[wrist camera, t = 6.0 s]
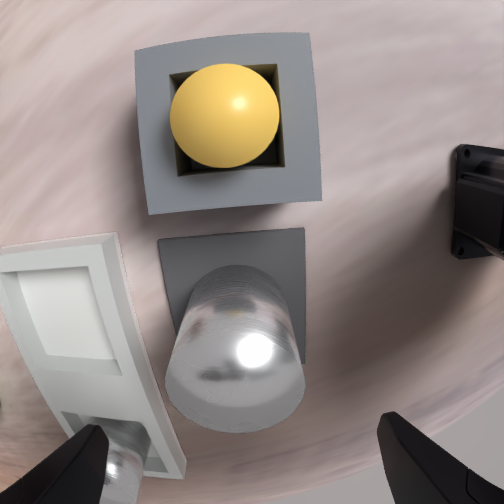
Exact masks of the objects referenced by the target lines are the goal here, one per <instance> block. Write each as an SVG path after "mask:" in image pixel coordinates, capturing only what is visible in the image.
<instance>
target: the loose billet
mask: <svg viewBox="0 0 504 504" xmlns="http://www.w3.org/2000/svg"><path fill="white" fill-rule="evenodd" d="M165 388H166V392H167V395H168V397H169V399H170V401H171V402H172V404H173V405H174V406H175V408H176V409H177V410H178V411H179V412H180V413H181V414H182V415H184V416H185V417H186V418H188V419H189V420H191V421H192V422H194V423H196V424H198V425H200V426H203V427H205V428H208V429H211V430H215V431H220V432H227V433H248V432H254V431H259V430H263V429H266V428H269V427H272V426H274V425H276V424H278V423H280V422H281V421H283V420H285V419H286V418H287V417H288V416H290V415H291V414H292V413H293V412H294V411H295V410H296V408H297V407H298V406H299V404H300V403H301V401H302V399H303V396H304V393H305V378H304V373H303V369H302V365H301V361H300V356H299V352H298V348H297V344H296V340H295V336H294V332H293V327H292V323H291V319H290V315H289V311H288V307H287V303H286V299H285V295H284V293H283V291H282V289H281V287H280V286H279V284H278V283H277V282H276V281H275V280H274V279H273V278H272V277H271V276H270V275H268V274H267V273H266V272H264V271H262V270H260V269H257V268H255V267H251V266H247V265H227V266H223V267H219V268H217V269H215V270H213V271H211V272H209V273H207V274H206V275H205V276H203V277H202V278H201V279H200V280H199V282H198V283H197V284H196V286H195V287H194V289H193V291H192V294H191V297H190V300H189V303H188V306H187V309H186V312H185V315H184V318H183V321H182V324H181V327H180V330H179V333H178V336H177V339H176V342H175V345H174V349H173V352H172V355H171V358H170V361H169V364H168V368H167V371H166V375H165Z"/></svg>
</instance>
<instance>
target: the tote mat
mask: <svg viewBox="0 0 504 504" xmlns="http://www.w3.org/2000/svg"><path fill="white" fill-rule="evenodd" d="M158 245H159V251H160V257H161V262H162V268H163V273H164V279H165V284H166V289H167V294H168V299H169V304H170V308H171V313H172V318H173V322H174V327H175V331H176V335H177V336H178V333H179V330H180V327H181V324H182V321H183V318H184V315H185V312H186V309H187V306H188V303H189V300H190V297H191V294H192V291H193V289H194V287H195V286H196V284H197V283H198V282H199V280H200V279H201V278H202V277H203V276H205V275H206V274H207V273H209V272H211V271H213V270H215V269H217V268H219V267H223V266H227V265H247V266H251V267H255V268H257V269H260V270H262V271H264V272H266V273H267V274H268V275H270V276H271V277H272V278H273V279H274V280H275V281H276V282H277V283H278V284H279V286H280V287H281V289H282V291H283V293H284V295H285V299H286V303H287V307H288V311H289V315H290V319H291V323H292V327H293V332H294V336H295V340H296V344H297V348H298V352H299V356H300V361H301V364H305V336H306V270H305V229H304V227H303V228H289V229H275V230H262V231H249V232H236V233H224V234H212V235H200V236H188V237H177V238H166V239H159V240H158Z"/></svg>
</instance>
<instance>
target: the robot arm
mask: <svg viewBox="0 0 504 504" xmlns="http://www.w3.org/2000/svg"><path fill="white" fill-rule="evenodd" d="M465 150H466V156H464V151H465ZM456 153H457V170H456V199H455V215H454V227H453V237H452V245H451V254H452V256H453V257H455V258H456V259H459V260H460V259H468V258H476V257H484V256H491V255H495V256H497V257H499V258H500V259H502V260H504V150H503V149H497V148H490V147H483V146H476V145H468V144H460V145H459V146H458V148H457V152H456ZM459 248H460V251H459V252H458V249H459ZM377 437H378V441H379V446H380V450H381V455H382V460H383V465H384V470H385V474H386V477H387V480H388V483H389V486H390V489H391V492H392V495H393V498H394V501H395V504H504V490H502V489H501V488H499V487H497V486H495V485H493V484H492V483H490V482H488V481H487V480H485V479H484V478H482V477H481V476H479V475H478V474H476V473H475V472H474V471H472V470H471V469H468V467H466V466H465V465H464V464H463V463H461V462H460V461H459V460H457V459H456V458H455V457H453V456H452V455H451V454H449V453H448V452H447V451H445V450H444V449H443V448H441V447H440V446H439V445H437V444H436V443H435V442H434V441H432V440H431V439H430V438H428V437H427V436H426V435H424V434H423V433H422V432H421V431H419V430H418V429H417V428H415V427H414V426H413V425H412V424H410V423H409V422H408V421H407V420H405V419H404V418H403V417H401V416H400V415H399V414H398V413H396V412H394V411H392V412H388V413H384V414H382V416H381V418H380V422H379V425H378V428H377ZM108 451H109V439H108V437H107V436H106V434H105V432H104V431H103V429H102V427H101V426H100V425H98V424H92V423H89V424H87V425H86V426H84V427H83V428H82V429H81V430H79V431H78V432H77V433H76V434H75V435H73V436H72V437H71V438H70V439H69V440H67V441H66V442H65V443H64V444H62V445H61V446H60V447H59V448H58V449H56V450H55V451H54V452H53V453H51V454H50V455H49V456H48V457H47V458H45V459H44V460H43V461H42V462H40V463H39V464H38V465H37V466H35V467H34V468H33V469H32V470H30V471H29V472H28V473H27V474H25V475H24V476H23V477H22V478H20V479H19V480H18V481H16V482H15V483H14V484H12V485H11V486H10V487H8V488H7V489H6V490H4V491H3V492H1V493H0V504H99V503H100V498H101V494H102V490H103V486H104V481H105V474H106V466H107V458H108Z"/></svg>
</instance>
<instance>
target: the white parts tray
mask: <svg viewBox="0 0 504 504" xmlns="http://www.w3.org/2000/svg"><path fill="white" fill-rule="evenodd" d="M0 305H1V308H2V311H3V313H4V316H5V319H6V321H7V324H8V326H9V328H10V331H11V333H12V336H13V338H14V340H15V342H16V345H17V347H18V349H19V351H20V353H21V356H22V358H23V360H24V362H25V364H26V366H27V368H28V370H29V372H30V374H31V376H32V378H33V379H34V381H35V383H36V385H37V387H38V389H39V390H40V392H41V394H42V396H43V398H44V399H45V401H46V403H47V404H48V406H49V408H50V409H51V411H52V413H53V414H54V416H55V417H56V419H57V421H58V422H59V424H60V425H61V427H62V428H63V430H64V431H65V433H66V434H67V436H68V437H69V439H70V438H71V437H72V436H73V435H75V434H76V433H77V432H78V431H79V430H81V429H82V428H83V427H84V426H86V425H87V423H88V421H89V419H90V417H91V416H94V417H101V418H109V419H118V420H127V421H138V422H139V423H141V424H142V425H143V426H144V427H145V428H146V430H147V432H148V434H149V436H150V438H151V445H150V449H149V453H148V457H147V461H146V465H145V469H144V473H143V476H149V477H159V478H169V479H183V480H184V477H185V470H186V463H187V460H186V458H185V455H184V453H183V451H182V448H181V446H180V444H179V441H178V439H177V436H176V434H175V431H174V429H173V426H172V424H171V421H170V419H169V416H168V413H167V411H166V408H165V405H164V402H163V400H162V397H161V394H160V391H159V388H158V385H157V383H156V380H155V377H154V374H153V371H152V367H151V364H150V361H149V358H148V355H147V352H146V348H145V345H144V342H143V338H142V335H141V331H140V328H139V324H138V320H137V317H136V313H135V309H134V305H133V301H132V297H131V293H130V289H129V285H128V281H127V276H126V272H125V267H124V263H123V258H122V253H121V248H120V243H119V238H118V233H117V232H109V233H100V234H92V235H84V236H75V237H67V238H60V239H52V240H44V241H37V242H30V243H23V244H16V245H9V246H4V247H2V248H0Z"/></svg>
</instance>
